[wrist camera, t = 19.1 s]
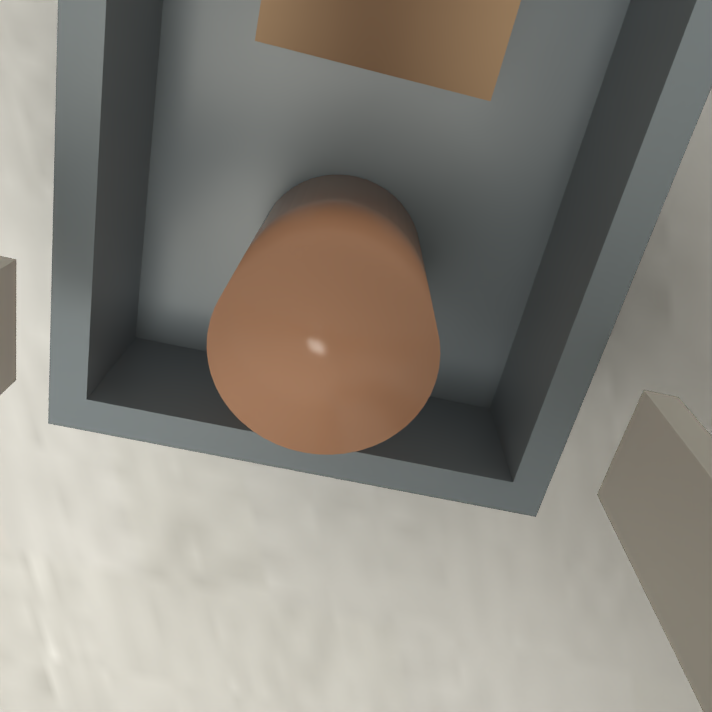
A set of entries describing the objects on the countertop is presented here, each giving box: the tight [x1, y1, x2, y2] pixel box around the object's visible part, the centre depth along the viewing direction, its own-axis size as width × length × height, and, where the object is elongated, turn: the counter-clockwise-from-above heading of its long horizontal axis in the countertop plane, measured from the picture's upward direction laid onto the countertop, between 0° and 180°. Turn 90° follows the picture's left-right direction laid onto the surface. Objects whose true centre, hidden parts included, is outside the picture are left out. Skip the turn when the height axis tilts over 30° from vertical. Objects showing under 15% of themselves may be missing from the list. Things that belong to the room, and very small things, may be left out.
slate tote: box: [48, 0, 712, 517], centre depth 18 cm, size 14×18×5 cm
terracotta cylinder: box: [207, 175, 440, 455], centre depth 18 cm, size 5×5×7 cm
